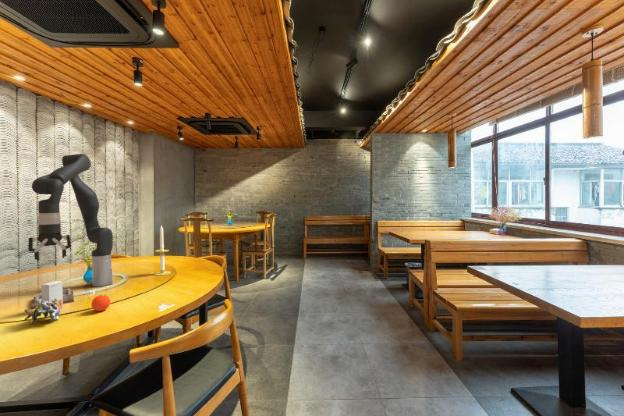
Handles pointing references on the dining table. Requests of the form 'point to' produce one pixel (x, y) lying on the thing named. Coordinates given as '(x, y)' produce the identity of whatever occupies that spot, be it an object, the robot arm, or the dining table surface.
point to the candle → (162, 255)
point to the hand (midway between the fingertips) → (50, 259)
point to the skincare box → (53, 292)
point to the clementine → (101, 302)
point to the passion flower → (45, 310)
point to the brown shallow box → (67, 298)
